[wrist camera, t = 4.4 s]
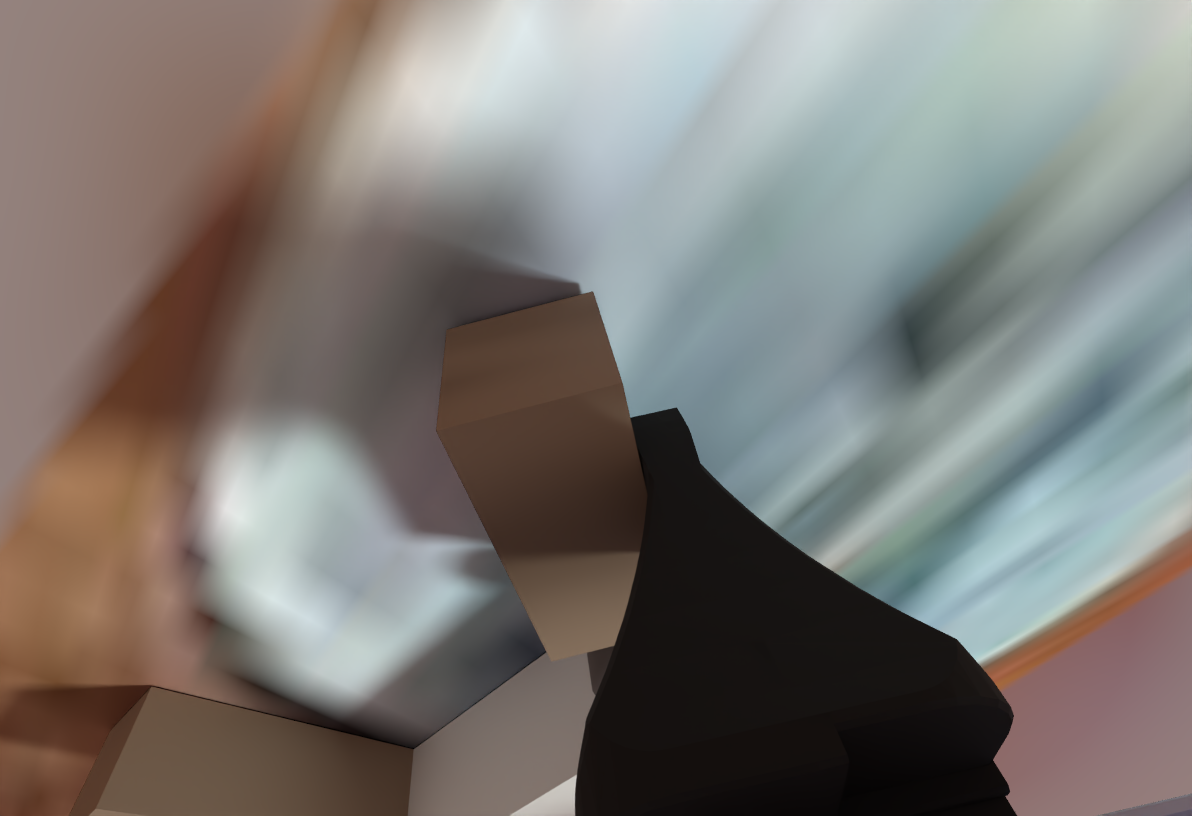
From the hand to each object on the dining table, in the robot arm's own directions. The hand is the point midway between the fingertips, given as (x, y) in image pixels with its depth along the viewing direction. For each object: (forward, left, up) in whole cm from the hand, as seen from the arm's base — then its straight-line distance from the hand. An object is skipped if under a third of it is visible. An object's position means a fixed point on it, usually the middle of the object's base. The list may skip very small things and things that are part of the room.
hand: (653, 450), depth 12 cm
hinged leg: (-2, +2, -2) cm, 3 cm away
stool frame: (-9, +8, -2) cm, 12 cm away
